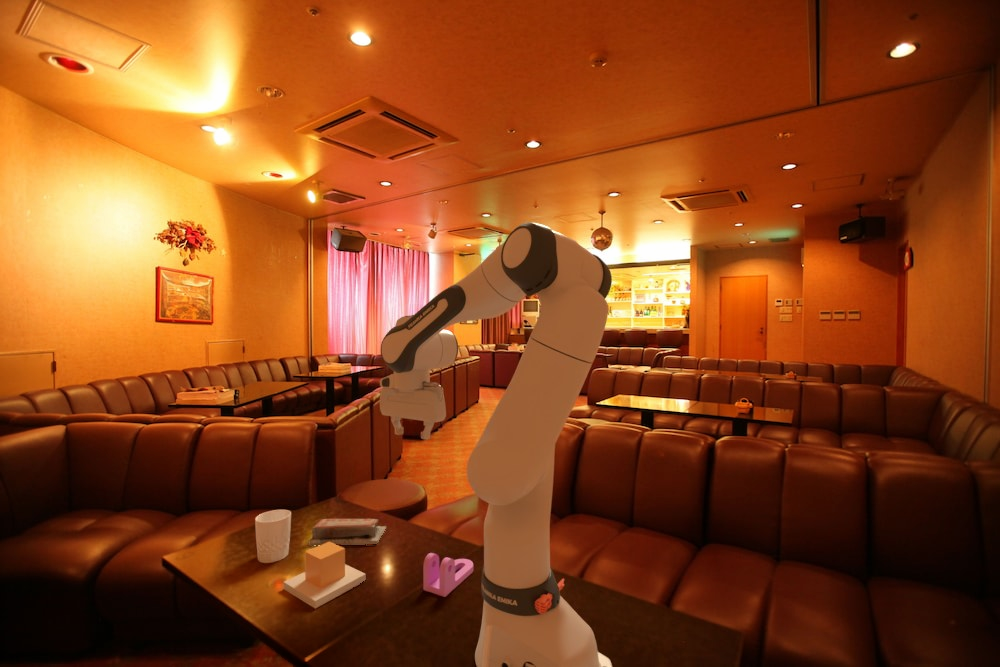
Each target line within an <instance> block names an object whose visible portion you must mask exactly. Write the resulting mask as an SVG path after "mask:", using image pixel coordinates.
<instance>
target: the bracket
mask: <svg viewBox="0 0 1000 667" xmlns="http://www.w3.org/2000/svg"><path fill="white" fill-rule="evenodd" d="M422 568H423V572H422V573H423V575H422V578H423V584H422V585H423V591H425V592H429V593H432V594H434V595H437V596H441V597H443V598H446V597H447V596H448V595H449V594H450V593H451V592H452V591H454V590H455V589H456V588H457V587H458V586H459V585H460V584H462V582H464V580H466V579H467V578H468V577H469V576H470V575H471V574H473V572H474V563H473V561H472V560H471V559H468V558H457V559H454V558H451V557H444V558H443V559H442V560H441V562H440V556H439V555H438V554H437V553H434V552H430V553H427V555H426V556H425V558H424V559H423V567H422Z"/></svg>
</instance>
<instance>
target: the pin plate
mask: <svg viewBox="0 0 1000 667" xmlns="http://www.w3.org/2000/svg"><path fill="white" fill-rule="evenodd" d="M366 576H367V574H366V573H365V572H362V571H360V570H358V569H356V568H355V567H352V566H351V565H348V564H346V563H345V576H344V577H342V578H340V579H338V580H336V581H335V582H333V583H331V584H329V585H327V586H325V587H323V588H319V587H317V586H315V585H314V584H312V583H310V582H308V581H307V580H305V571H303V572H302V573H299V574H298V575H295V576H293V577H291V578H288V579H287V580H284V581H283V586H282V587H283V590H285V591H286V592H287V593H289V594H291V595H292V596H294V597H295V598H298V599H299V600H301V601H302V602H303V603H305V604H307V605H309V606H310V607H312V608H314V609H315V610H316V609H317V608H319V607H321V606H323V605H324V604H327V603H328V602H330V601H332V600H334V599H336V598H337V597H339V596H341V595H343V594H344V593H346V592H348V591H350V590H352V589H354V588H355V587H358V586H359V585H361V584H363V583H364V582H366V581H365V580H367V579H366ZM363 581H364V582H363ZM362 582H363V583H362ZM360 583H361V584H360ZM353 587H354V588H353Z"/></svg>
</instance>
